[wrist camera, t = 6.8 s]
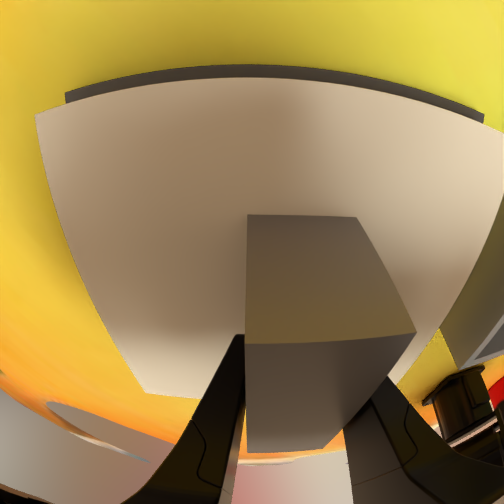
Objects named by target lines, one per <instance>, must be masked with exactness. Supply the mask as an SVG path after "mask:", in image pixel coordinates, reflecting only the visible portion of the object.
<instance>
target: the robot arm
mask: <svg viewBox="0 0 504 504" xmlns="http://www.w3.org/2000/svg"><path fill="white" fill-rule="evenodd" d="M484 369H485V366H484V365H483V366H480V367H477V368H474V369H471V370H469V371H466V372H463V373H459V374H456V375H453V376H450V377H448V378H447V379H446V380H445V381H444V382H443V383H442V384H441V385H440V386H439V387H438V388H437V389H436V390H435V391H434V392H433V393H432V394H431V395H430V396H429V397H428V398H426V399H425V400H424V401H423V402H422V405H423V406H426V405H429V404H433V407H434V410H435V413H436V417H437V420H438V424H439V427H440V431H441V434H442V438H443V439H442V438H441V437H440V436H439V435H438V434H437V433H436V432H435V431H434V430H433V429H432V428H431V427H430V426H429V425H428V424H427V423H426V421H425V420H424V419H423V418H422V417H421V416H420V415H419V413H418V412H417V411H416V410H415V409H414V407H413V406H412V405H411V404H410V403H409V401H408V400H407V399H406V398H405V396H404V395H403V394H402V393H401V391H400V390H399V389H398V388H397V386H396V385H395V384H394V383H393V382H392V380H391V379H390V378H389V377H388V375H387V377H386V378H385V379H384V380H383V382H382V383H381V384H380V386H379V387H378V388H377V389H376V391H375V392H374V393H373V394H372V396H371V397H370V398H369V399H368V400H367V402H366V403H365V404H364V405H363V406H362V407H361V409H360V410H359V411H358V412H357V413H356V414H355V415H354V417H353V418H352V419H351V420H350V421H349V422H348V423H347V424H346V425H345V426H344V427H343V433H344V439H345V445H346V451H347V457H348V464H349V471H350V478H351V485H352V494H353V503H354V504H504V419H503V416H502V414H501V411H500V409H499V408H496V409H495V410H494V411H492V408H491V405H490V402H489V400H490V396H489V393H488V391H487V388H486V386H485V383H484V381H483V378H482V376H481V373H482V372H483V370H484ZM245 409H246V385H245V334H236V335H235V336H234V337H233V339H232V341H231V343H230V345H229V347H228V349H227V351H226V353H225V355H224V357H223V359H222V361H221V363H220V365H219V366H218V368H217V370H216V372H215V374H214V376H213V378H212V380H211V382H210V384H209V386H208V387H207V389H206V391H205V393H204V395H203V397H202V399H201V401H200V403H199V405H198V406H197V408H196V410H195V412H194V414H193V416H192V418H191V419H192V420H190V421H189V423H188V425H187V427H186V428H185V430H184V432H183V434H182V435H181V437H180V439H179V440H178V442H177V443H176V445H175V446H174V448H173V449H172V451H171V452H170V453H169V455H168V456H167V457H166V459H165V460H164V461H163V463H162V464H161V465H160V466H159V468H158V469H157V470H156V472H155V473H154V474H153V475H152V477H151V478H150V479H149V480H148V482H147V483H146V484H145V485H144V486H143V487H142V488H141V489H140V490H139V491H137V492H136V493H135V494H134V495H132V496H131V497H130V498H128V499H127V500H125V501H124V502H122V503H121V504H231V500H232V494H233V487H234V481H235V474H236V468H237V462H238V456H239V449H240V442H241V436H242V429H243V422H244V416H245ZM495 418H497V420H498V421H497V422H496V423H494V424H492V425H491V426H489V427H488V428H486V429H484V430H483V431H481V432H479V433H478V434H476V435H474V436H473V437H471V438H469V439H467V440H466V441H464V442H462V443H460V444H458V445H456V446H455V447H452V448H451V447H450V446H449V445H451V444H453V443H455V442H457V441H459V440H461V439H462V438H464V437H466V436H468V435H470V434H471V433H473V432H475V431H476V430H478V429H480V428H481V427H483V426H485V425H486V424H488V423H489V422H491V421H492V420H494V419H495ZM498 429H500V431H499V432H496V431H497V430H498ZM0 504H53V503H51V502H48V501H46V500H44V499H41V498H38V497H36V496H32V495H29V494H26V493H24V492H21V491H18V490H15V489H13V488H10V487H8V486H5V485H3V484H0Z"/></svg>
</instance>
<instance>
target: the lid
mask: <svg viewBox="0 0 504 504" xmlns="http://www.w3.org/2000/svg"><path fill="white" fill-rule="evenodd" d="M35 122H36V128H37V134H38V140H39V145H40V150H41V155H42V159H43V164H44V168H45V172H46V176H47V180H48V184H49V188H50V191H51V195H52V198H53V202H54V205H55V208H56V212H57V215H58V218H59V221H60V224H61V227H62V230H63V232H64V235H65V238H66V241H67V243H68V246H69V249H70V251H71V254H72V256H73V259H74V261H75V264H76V266H77V269H78V271H79V273H80V276H81V278H82V280H83V282H84V285H85V287H86V289H87V291H88V293H89V295H90V297H91V300H92V302H93V304H94V306H95V308H96V310H97V312H98V314H99V316H100V318H101V319H102V321H103V323H104V325H105V327H106V329H107V331H108V332H109V334H110V336H111V338H112V340H113V341H114V343H115V345H116V347H117V348H118V350H119V352H120V353H121V355H122V357H123V358H124V360H125V362H126V363H127V365H128V366H129V368H130V370H131V371H132V373H133V374H134V376H135V377H136V379H137V380H138V382H139V383H140V385H141V386H142V388H143V389H144V391H145V392H146V393H151V394H158V395H166V396H175V397H185V398H198V399H202V397H203V395H204V393H205V391H206V389H207V387H208V386H209V384H210V382H211V380H212V378H213V376H214V374H215V372H216V370H217V368H218V366H219V365H220V363H221V361H222V359H223V357H224V355H225V353H226V351H227V349H228V347H229V345H230V343H231V341H232V339H233V337H234V336H235V335H236V334H245V385H246V426H247V453H275V452H293V451H305V450H315V449H323V448H324V447H325V446H326V445H327V444H328V443H329V442H330V441H331V440H332V439H333V438H334V437H335V436H336V435H337V434H338V433H339V432H340V431H341V430H342V428H343V427H344V426H345V425H346V424H347V423H348V422H349V421H350V420H351V419H352V418H353V417H354V415H355V414H356V413H357V412H358V411H359V410H360V409H361V407H362V406H363V405H364V404H365V403H366V402H367V400H368V399H369V398H370V397H371V396H372V394H373V393H374V392H375V391H376V389H377V388H378V387H379V386H380V384H381V383H382V382H383V380H384V379H385V378H386V377H387V375H388V377H389V378H390V379H391V380H392V382H393V383H394V384H395V385H396V384H397V383H398V382H399V381H400V379H401V378H402V377H403V376H404V374H405V373H406V372H407V371H408V369H409V368H410V367H411V366H412V364H413V363H414V362H415V360H416V359H417V358H418V356H419V355H420V354H421V352H422V351H423V350H424V348H425V347H426V346H427V344H428V343H429V341H430V340H431V338H432V337H433V336H434V334H435V333H436V331H437V330H438V328H439V327H440V325H441V324H442V322H443V320H444V319H445V317H446V316H447V314H448V312H449V311H450V309H451V308H452V306H453V304H454V303H455V301H456V299H457V297H458V296H459V294H460V292H461V290H462V288H463V287H464V285H465V283H466V281H467V279H468V277H469V275H470V273H471V272H472V270H473V268H474V266H475V263H476V261H477V259H478V257H479V255H480V253H481V251H482V249H483V246H484V244H485V242H486V239H487V237H488V235H489V232H490V230H491V227H492V225H493V222H494V220H495V217H496V214H497V212H498V209H499V206H500V203H501V200H502V197H503V194H504V133H502V132H500V131H498V130H496V129H494V128H491V127H489V126H487V125H485V124H482V123H480V122H477V121H475V120H472V119H470V118H467V117H465V116H462V115H460V114H457V113H454V112H451V111H448V110H445V109H443V108H439V107H436V106H433V105H430V104H427V103H423V102H420V101H416V100H413V99H409V98H405V97H401V96H397V95H393V94H389V93H385V92H380V91H375V90H370V89H365V88H359V87H354V86H348V85H341V84H334V83H326V82H318V81H308V80H296V79H280V78H213V79H197V80H185V81H176V82H167V83H159V84H152V85H146V86H140V87H134V88H129V89H123V90H118V91H114V92H109V93H105V94H100V95H96V96H92V97H88V98H85V99H81V100H77V101H74V102H71V103H67V104H64V105H61V106H58V107H55V108H52V109H49V110H46V111H43V112H41V113H38V114H35Z"/></svg>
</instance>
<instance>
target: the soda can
mask: <svg viewBox="0 0 504 504" xmlns="http://www.w3.org/2000/svg"><path fill="white" fill-rule="evenodd" d="M489 396H490V399H491V402H492V404H493V407H494V410H495V409H496V408H499V409H500V411H501V414H502V416H503V419H504V377H502V378H501V379H500V380H499V381H497V382H496V383H495V384H494V385H493V386H492V387H491V388H490V390H489Z"/></svg>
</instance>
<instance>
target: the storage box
mask: <svg viewBox="0 0 504 504" xmlns="http://www.w3.org/2000/svg"><path fill="white" fill-rule="evenodd" d="M439 329H440V331H441V333H442V335H443V337H444V339H445V341H446V343H447V345H448V347H449V350H450V352H451V354H452V356H453V359H454V361H455V363H456V366H457V368H458V370H461V369H464V368H467V367H470V366H473V365H476V364H479V363H482V362H485V361H488V360H490V359H493V358H495V357H498V356H500V355H503V354H504V194H503V197H502V200H501V203H500V206H499V209H498V212H497V214H496V217H495V220H494V222H493V225H492V227H491V230H490V232H489V235H488V237H487V239H486V242H485V244H484V246H483V249H482V251H481V253H480V255H479V257H478V259H477V261H476V263H475V266H474V268H473V270H472V272H471V273H470V275H469V277H468V279H467V281H466V283H465V285H464V287H463V288H462V290H461V292H460V294H459V296H458V297H457V299H456V301H455V303H454V304H453V306H452V308H451V309H450V311H449V312H448V314H447V316H446V317H445V319H444V320H443V322H442V324H441V325H440V327H439Z"/></svg>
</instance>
